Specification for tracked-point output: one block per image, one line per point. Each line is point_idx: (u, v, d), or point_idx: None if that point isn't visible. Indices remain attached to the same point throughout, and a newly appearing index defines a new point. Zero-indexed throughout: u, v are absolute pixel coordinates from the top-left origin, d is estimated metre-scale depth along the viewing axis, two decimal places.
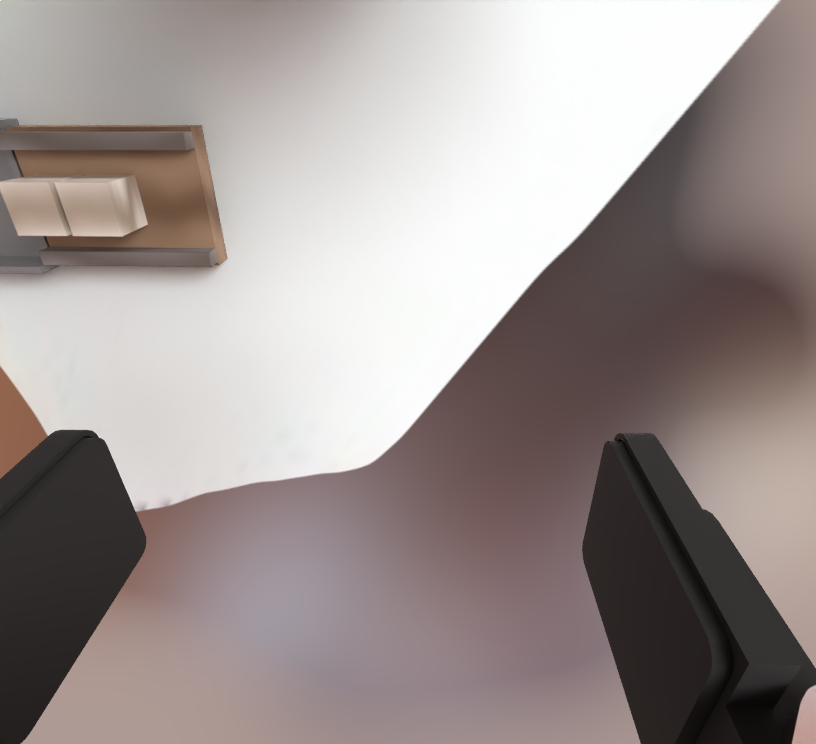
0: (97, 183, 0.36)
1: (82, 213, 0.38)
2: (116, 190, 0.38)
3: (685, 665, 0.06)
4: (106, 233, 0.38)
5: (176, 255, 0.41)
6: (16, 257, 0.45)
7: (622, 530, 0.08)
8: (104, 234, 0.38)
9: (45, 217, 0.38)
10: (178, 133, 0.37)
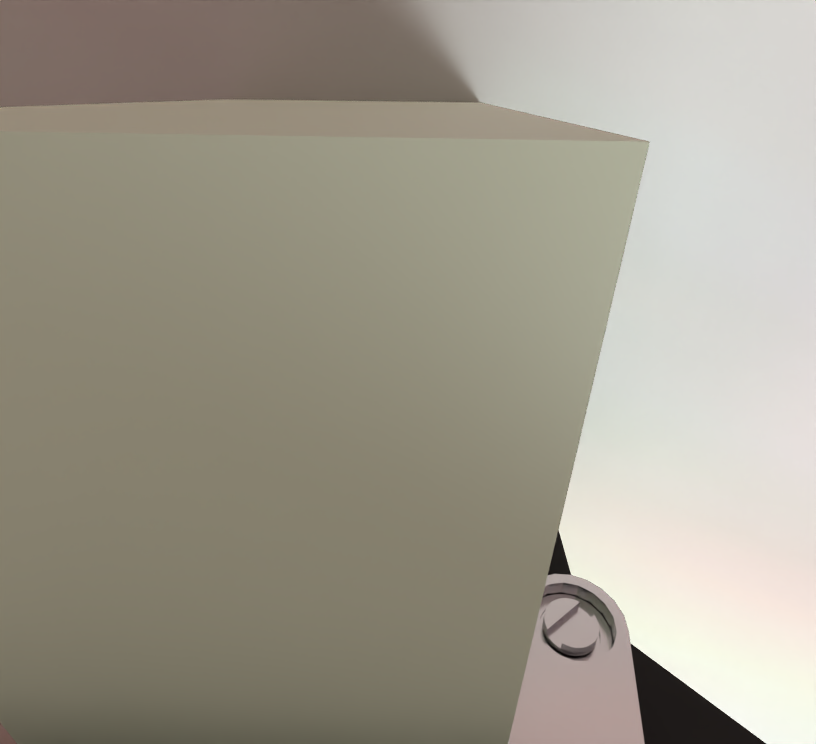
0: None
1: None
2: None
3: None
4: None
5: None
6: None
7: None
8: None
9: None
10: None
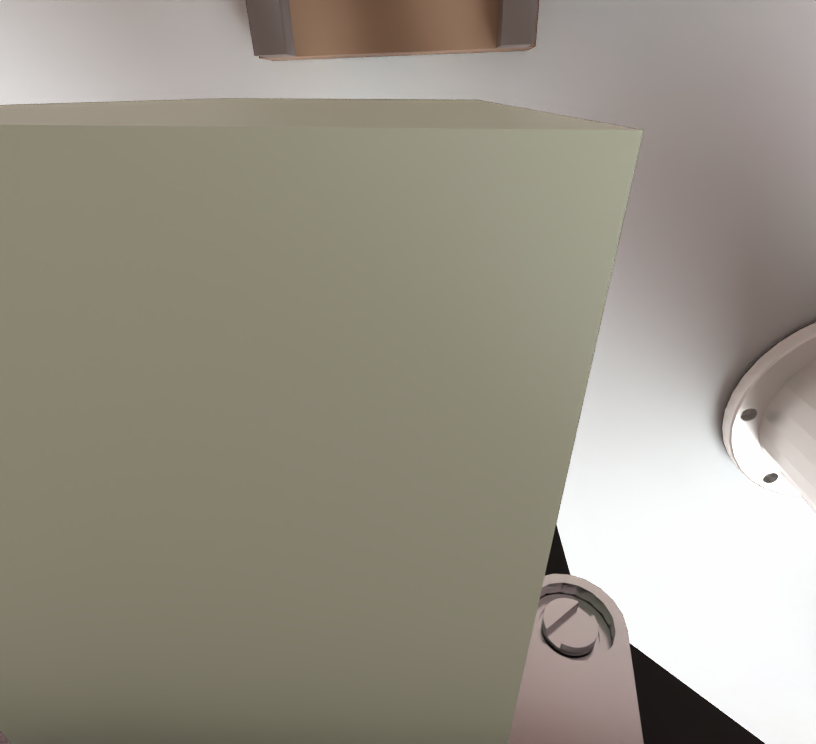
0: None
1: None
2: None
3: None
4: None
5: None
6: None
7: None
8: None
9: None
10: (533, 30, 0.18)
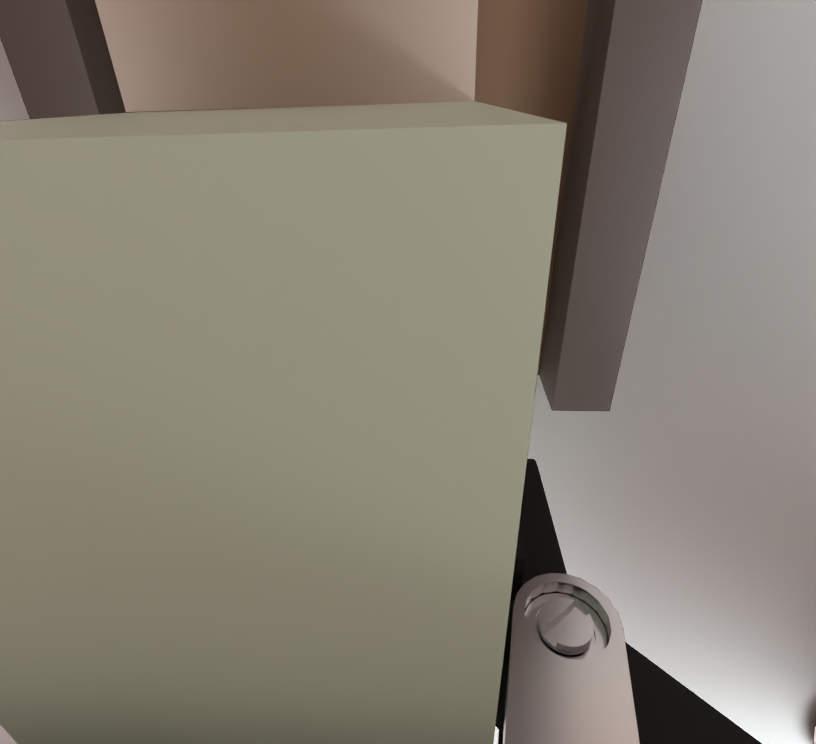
0: (471, 22, 0.05)
1: None
2: None
3: None
4: None
5: None
6: None
7: None
8: None
9: None
10: (609, 392, 0.10)
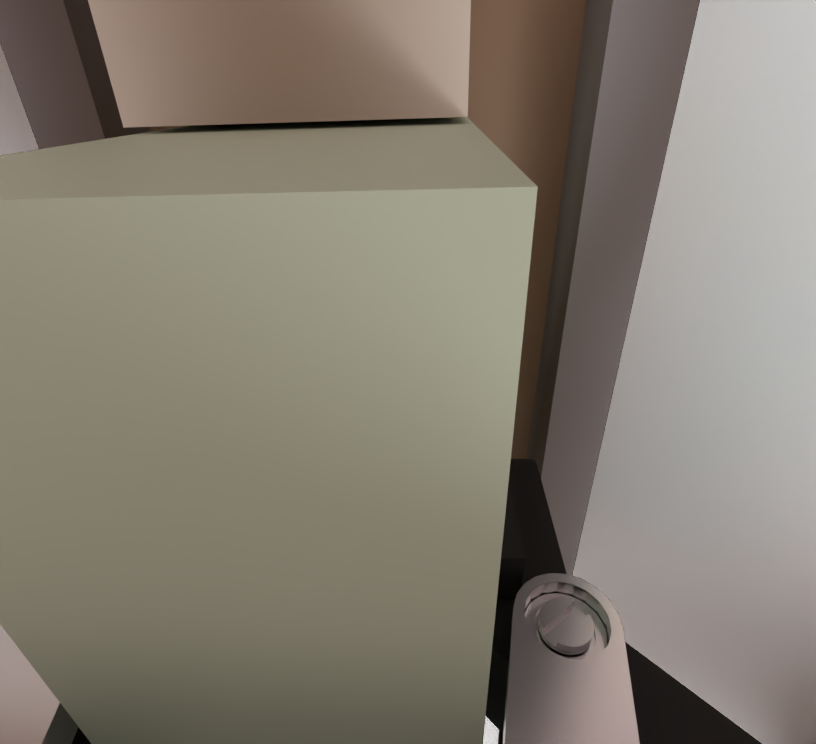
0: (463, 39, 0.05)
1: None
2: None
3: None
4: None
5: None
6: None
7: None
8: None
9: None
10: None
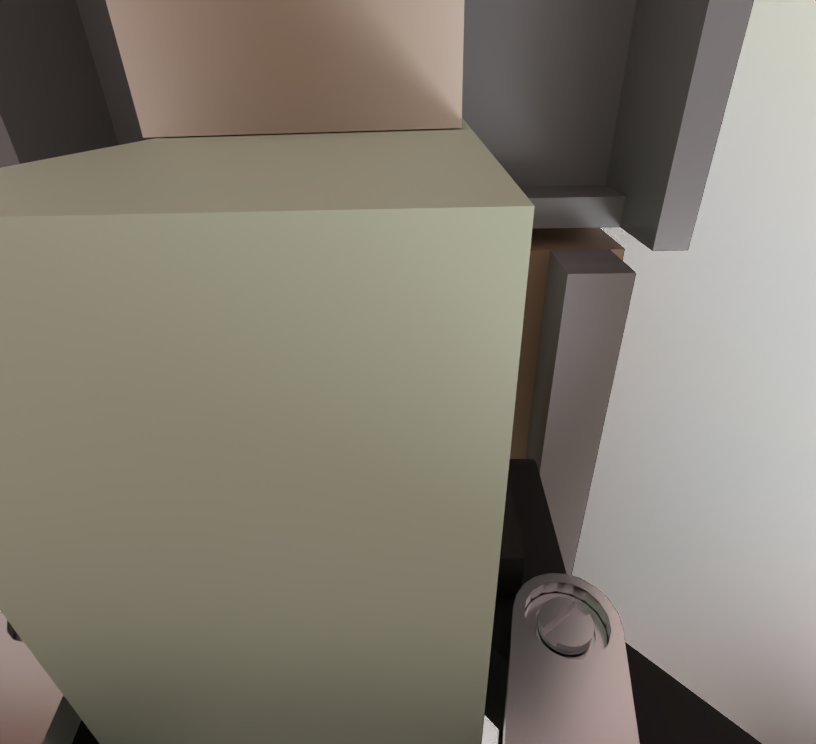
0: (457, 57, 0.06)
1: None
2: None
3: None
4: (130, 19, 0.06)
5: None
6: (65, 5, 0.09)
7: None
8: None
9: None
10: None
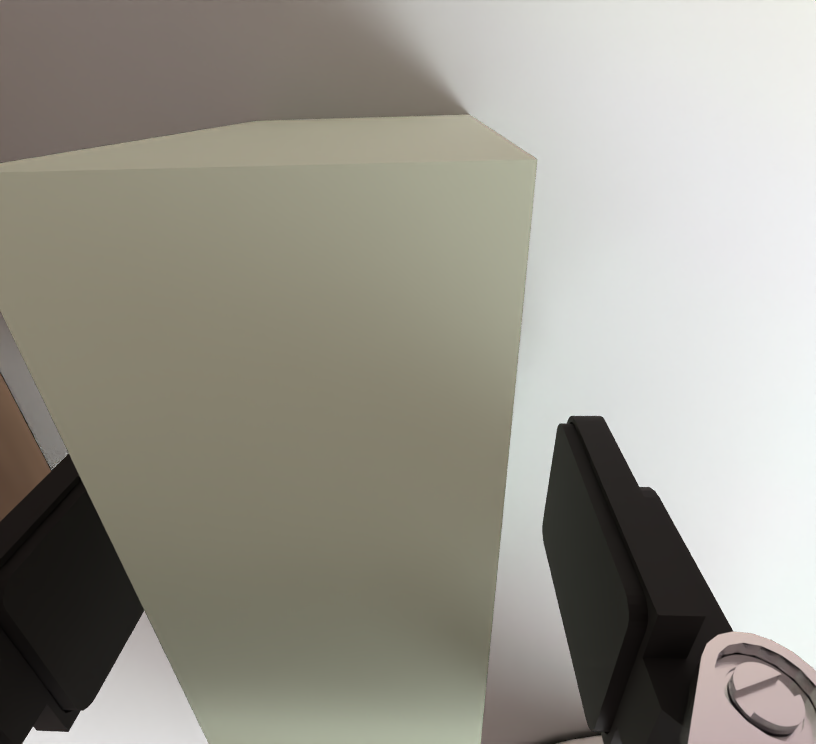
0: None
1: None
2: None
3: (611, 623, 0.06)
4: None
5: None
6: None
7: (569, 506, 0.08)
8: None
9: None
10: None
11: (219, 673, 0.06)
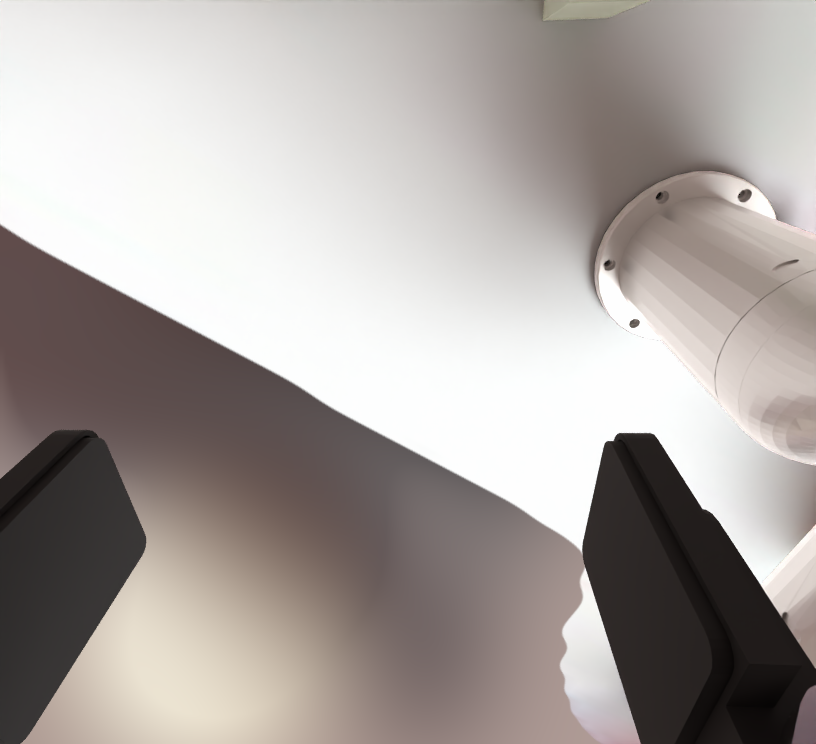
0: None
1: None
2: None
3: (685, 665, 0.06)
4: None
5: None
6: None
7: (622, 530, 0.08)
8: None
9: None
10: None
11: None
